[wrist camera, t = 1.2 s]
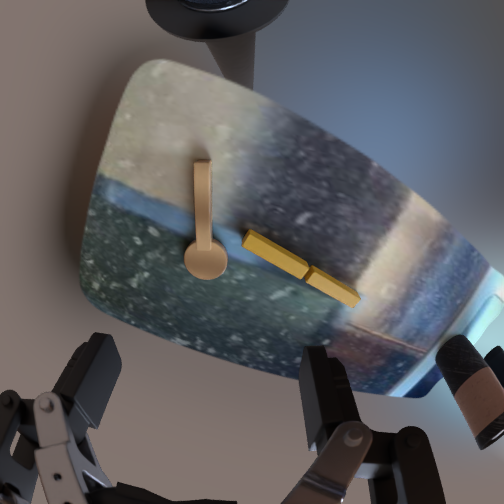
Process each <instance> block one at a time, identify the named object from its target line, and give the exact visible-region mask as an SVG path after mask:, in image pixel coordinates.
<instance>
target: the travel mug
mask: <svg viewBox="0 0 504 504" xmlns="http://www.w3.org/2000/svg"><path fill="white" fill-rule="evenodd" d="M436 363H437V365H438V367H439V369H440V371H441V373H442V375H443V377H444V379H445V380H446V382H447V384H448V386H449V388H450V390H451V392H452V394H453V396H454V398H455V400H456V402H457V404H458V406H459V408H460V410H461V412H462V413H463V415H464V417H465V419H466V421H467V423H468V425H469V427H470V429H471V431H472V433H473V436H474V438H475V440H476V442H477V444H478V446H479V448H480V450H483V449H485V448H486V447H488V446H490V445H491V444H493V443H494V442H495V441H497V440H498V439H499V438H500V437H502V436H503V435H504V389H503V387H502V386H501V384H500V382H499V381H498V379H497V378H496V376H495V374H494V373H493V371H492V370H491V368H490V367H489V366H488V364H487V363H486V362H485V360H484V359H483V358H482V356H481V355H480V354H479V353H478V351H477V350H476V349H475V347H474V346H473V345H472V344H471V342H470V341H469V340H468V339H467V338H466V337H465V336H464V335H458V336H455V337H453V338H452V339H450V340H449V341H448V342H447V343H445V344H444V345H443V347H442V348H441V349H440V350H439V352H438V354H437V356H436Z"/></svg>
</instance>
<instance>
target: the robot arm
mask: <svg viewBox="0 0 504 504" xmlns="http://www.w3.org/2000/svg"><path fill="white" fill-rule="evenodd" d="M177 1H178V2H179V3H180V4H181V5H182V6H184V7H185V8H187V9H189V10H192V11H195V12H199V13H222V12H227V11H230V10H234V9H236V8H239V7H241V6H243V5H245V4H246V3H248V2H249V1H250V0H177ZM121 366H122V362H121V358H120V355H119V353H118V350H117V348H116V345H115V342H114V340H113V337H112V336H111V335H110V334H103V333H97V332H95V333H93V335H92V336H91V338H90V339H89V341H88V342H84V343H83V344H82V345H81V346H79V347H78V348H77V349H76V350H75V352H74V354H73V355H72V357H71V359H70V360H69V362H68V364H67V366H66V367H65V369H64V370H63V372H62V374H61V376H60V377H59V379H58V381H57V383H56V384H55V386H54V388H53V390H52V391H51V392H44V393H42V394H40V395H39V396H38V397H37V398H36V399H21V398H20V396H19V395H18V394H17V392H15V391H13V390H6V391H4V392H2V393H1V395H0V504H31V501H32V496H33V492H34V489H35V485H36V481H37V478H38V474H39V476H40V480H41V483H42V487H43V490H44V493H45V496H46V499H47V502H48V504H237V501H224V500H223V501H222V500H210V499H201V500H190V501H171V500H168V499H166V498H163V497H161V496H159V495H157V494H154V493H152V492H150V491H148V490H146V489H143V488H139V487H135V486H131V485H127V484H124V483H120V482H117V486H116V487H113V486H112V484H111V483H110V481H109V479H108V478H107V476H106V475H105V474H104V472H103V471H102V469H101V467H100V465H99V463H98V460H97V458H96V455H95V453H94V450H93V447H92V444H91V442H90V439H89V436H88V434H87V432H86V431H87V429H88V427H91V428H94V429H98V427H99V424H100V421H101V419H102V416H103V413H104V411H105V408H106V406H107V403H108V401H109V398H110V396H111V393H112V391H113V388H114V386H115V384H116V381H117V379H118V377H119V374H120V372H121ZM299 386H300V393H301V400H302V406H303V413H304V420H305V427H306V434H307V441H308V448H309V451H312V450H317V455H318V457H317V458H316V459H315V461H314V463H313V464H312V465H311V466H310V468H309V469H308V471H307V472H306V473H305V474H304V475H303V477H302V478H301V480H300V481H299V482H298V483H297V484H296V486H295V487H294V488H293V489H292V491H291V492H290V493H289V494H288V495H287V497H286V498H285V499H284V500H283V501H282V503H281V504H341V502H342V501H343V499H344V497H345V495H346V490H347V488H348V486H349V484H350V483H351V481H352V479H353V478H354V477H355V478H366V479H368V485H369V491H370V499H371V504H446V501H445V497H444V492H443V488H442V484H441V480H440V477H439V473H438V469H437V466H436V462H435V459H434V456H433V452H432V449H431V446H430V443H429V440H428V437H427V435H426V433H425V432H424V431H423V430H422V429H420V428H418V427H415V426H408V427H405V428H402V429H401V430H400V431H399V432H398V433H386V432H377V431H374V430H371V429H369V427H368V426H366V425H365V424H364V423H363V422H362V421H361V419H360V416H359V413H358V410H357V406H356V403H355V399H354V396H353V393H352V390H351V387H350V383H349V380H348V379H347V374H346V371H345V368H344V366H343V365H342V363H341V362H340V361H339V360H338V359H337V358H336V357H335V358H328V357H327V353H326V350H325V347H324V346H323V345H322V346H305V347H304V351H303V356H302V360H301V365H300V370H299ZM16 431H18V432H19V433H20V434H21V435H20V437H19V440H18V442H17V445H16V447H15V450H14V453H13V456H11V455H10V447H11V444H12V441H13V439H14V436H15V434H16Z"/></svg>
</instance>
